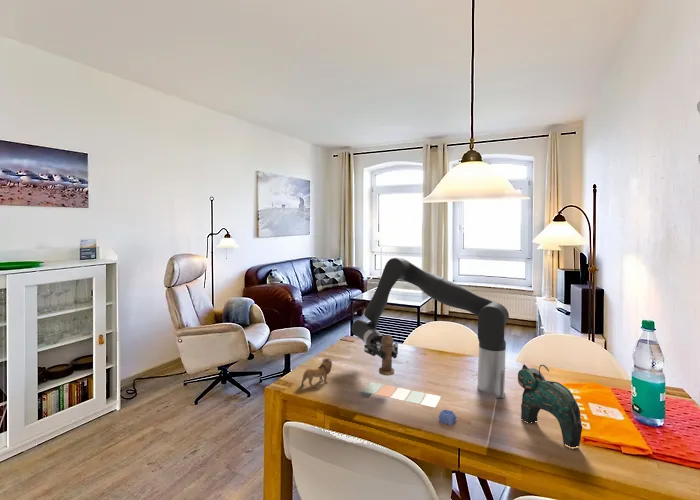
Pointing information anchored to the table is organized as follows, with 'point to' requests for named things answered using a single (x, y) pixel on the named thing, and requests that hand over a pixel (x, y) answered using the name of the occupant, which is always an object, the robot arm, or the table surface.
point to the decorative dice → (447, 417)
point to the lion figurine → (318, 372)
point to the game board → (401, 394)
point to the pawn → (387, 356)
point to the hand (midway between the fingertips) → (389, 356)
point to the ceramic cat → (550, 403)
